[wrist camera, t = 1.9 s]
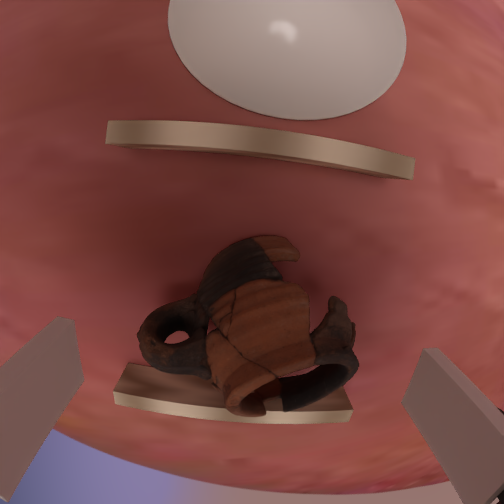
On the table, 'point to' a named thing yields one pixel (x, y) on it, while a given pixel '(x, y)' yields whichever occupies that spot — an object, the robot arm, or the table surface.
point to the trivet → (291, 52)
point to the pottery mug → (253, 333)
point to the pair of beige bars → (256, 145)
